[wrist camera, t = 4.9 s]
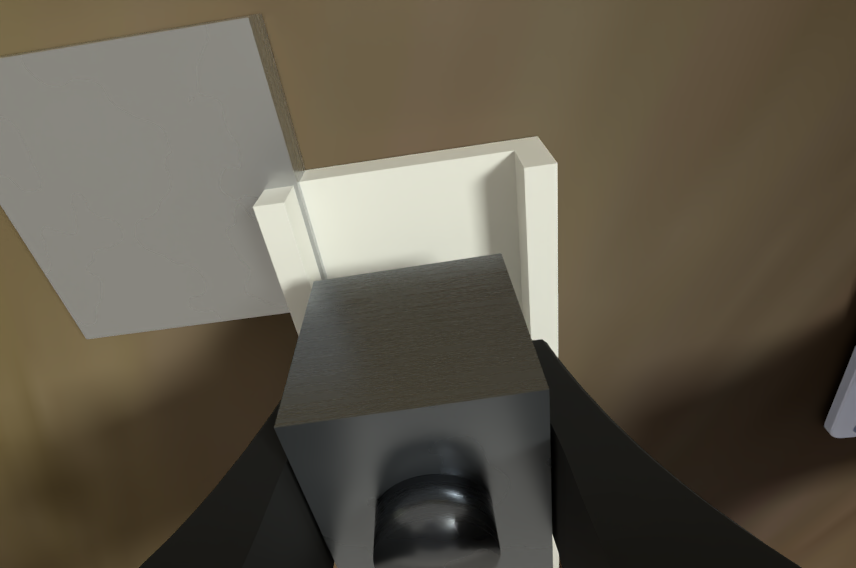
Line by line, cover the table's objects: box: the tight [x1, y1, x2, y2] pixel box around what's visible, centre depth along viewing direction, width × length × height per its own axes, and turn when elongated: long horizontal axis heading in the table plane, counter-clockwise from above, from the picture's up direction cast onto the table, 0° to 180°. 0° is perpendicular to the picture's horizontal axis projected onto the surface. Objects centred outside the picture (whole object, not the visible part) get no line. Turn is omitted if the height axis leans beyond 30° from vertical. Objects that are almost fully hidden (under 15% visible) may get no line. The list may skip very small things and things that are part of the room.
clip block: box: [274, 253, 553, 568], centre depth 10 cm, size 4×5×5 cm
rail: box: [253, 136, 559, 568], centre depth 18 cm, size 7×24×2 cm, turn 8°
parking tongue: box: [0, 14, 327, 339], centre depth 12 cm, size 7×7×1 cm
